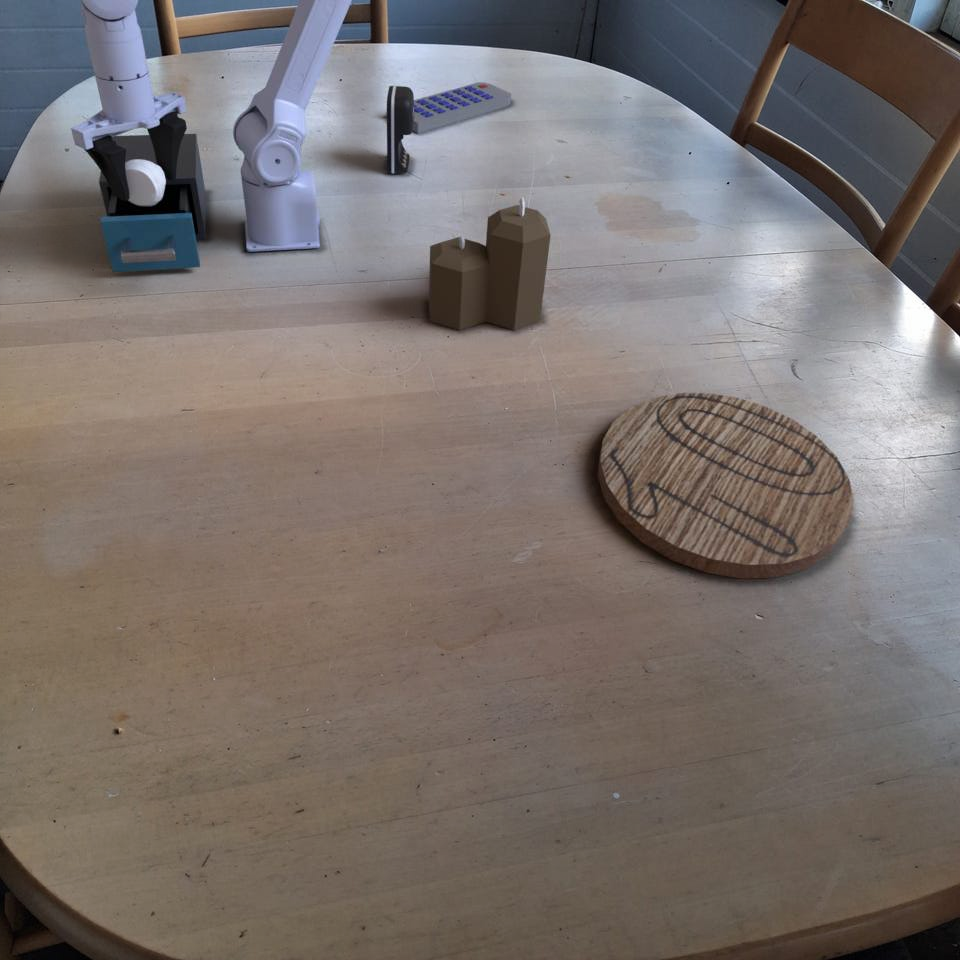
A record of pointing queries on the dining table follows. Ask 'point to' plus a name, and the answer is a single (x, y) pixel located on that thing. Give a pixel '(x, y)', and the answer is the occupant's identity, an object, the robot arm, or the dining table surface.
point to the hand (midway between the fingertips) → (145, 187)
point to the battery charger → (398, 127)
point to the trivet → (724, 485)
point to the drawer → (152, 233)
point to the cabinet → (185, 174)
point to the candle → (492, 273)
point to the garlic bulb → (145, 182)
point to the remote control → (458, 105)
